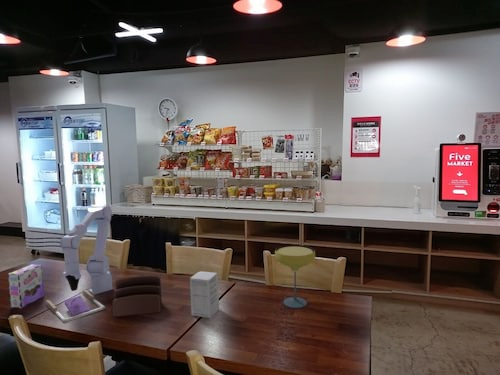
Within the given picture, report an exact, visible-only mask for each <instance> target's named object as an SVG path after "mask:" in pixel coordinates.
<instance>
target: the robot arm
mask: <svg viewBox="0 0 500 375" xmlns="http://www.w3.org/2000/svg"><path fill="white" fill-rule="evenodd" d="M112 214H113V210H112V207H111V206H110V205H109V204H106V205H105V204H104V205H103V204H90V205H89V207H88V208H87V212H86V215H85V216H84V218H83V219H82V221H81V222H80V223H77V224H75V225H74V227H72V229H71V230H70V232H68V234H67V235H64V236H63V237H62V238H61V240H60V242H59V246H60V247H61V250H62V252H63V254H64V257H63V258H64V269H65V271H64V272H62V275H63V276H65V279H66V280H67V282H68V284H69V289H70V291H72V292H74V291H78V288H79V286H78V285H79V281H80V279H82V274H81V269H80V258H79V247H80V246H81V242H82V239H83V238H84V236H85V234H87V232H88V227H89V226H90V225H91V224H92V223H93V222H94V221H95V222H96V223H97V231H96V237H95V242H94V249H93V254H92V255H91V256H89V257H88V260H87V263H86V265H85V266H86V267H85V270H86V272H87V273H88V274H89V276H90V285H91V288H89V289H88V292H89V293H90V292H91V294H92V295H93V296H95V295H98V294H101V293H105V292H108V291H111V290H114V288H113V279H112V277H113V276H112V274H111V272H110V271H109V270H110V259H109V257H108V256H106V249H107V248H106V247H107V243H108V242H107V241H108V235H109V228H110V222H111V220H112Z"/></svg>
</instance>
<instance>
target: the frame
mask: <svg viewBox="0 0 500 375" xmlns="http://www.w3.org/2000/svg"><path fill="white" fill-rule="evenodd" d="M92 302H93V303H94V304H95V305H97V308H94V309H91V310H90V311H88V312H85V313H82V314H78V315H75V316H72V315H71V316H69V317H66V318H65V316H63V315H62V313H61V312H60V311H58V310H57V312H55V315H56V316H57V317H58V318H59V319H60V320H61V322H62V323H67V322H70V321H73V320H76V319H78V318H81V317H85V316H87V315H91V314H94V313H98V312H99V311H103V310H105V309H106V306H105V305H103V304H102V302H99V301H98V300H97V299H95V300H93V301H92Z"/></svg>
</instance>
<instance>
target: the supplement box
mask: <svg viewBox="0 0 500 375" xmlns="http://www.w3.org/2000/svg"><path fill="white" fill-rule="evenodd" d="M218 275H219V274H218V272H212V271H198V272H196V274H194V275H192V276H191V277H189V288H190V289H189V290H190V309H191V310H190V313H191V316H194V317H200V318H201V317H202V318H209V319H211V318H212V317H213V316H214V315H215V314H216V313H217V312H218V311H219V310H220V300H219V299H220V297H219V295H220V294H219V278H218V277H219V276H218Z"/></svg>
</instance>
